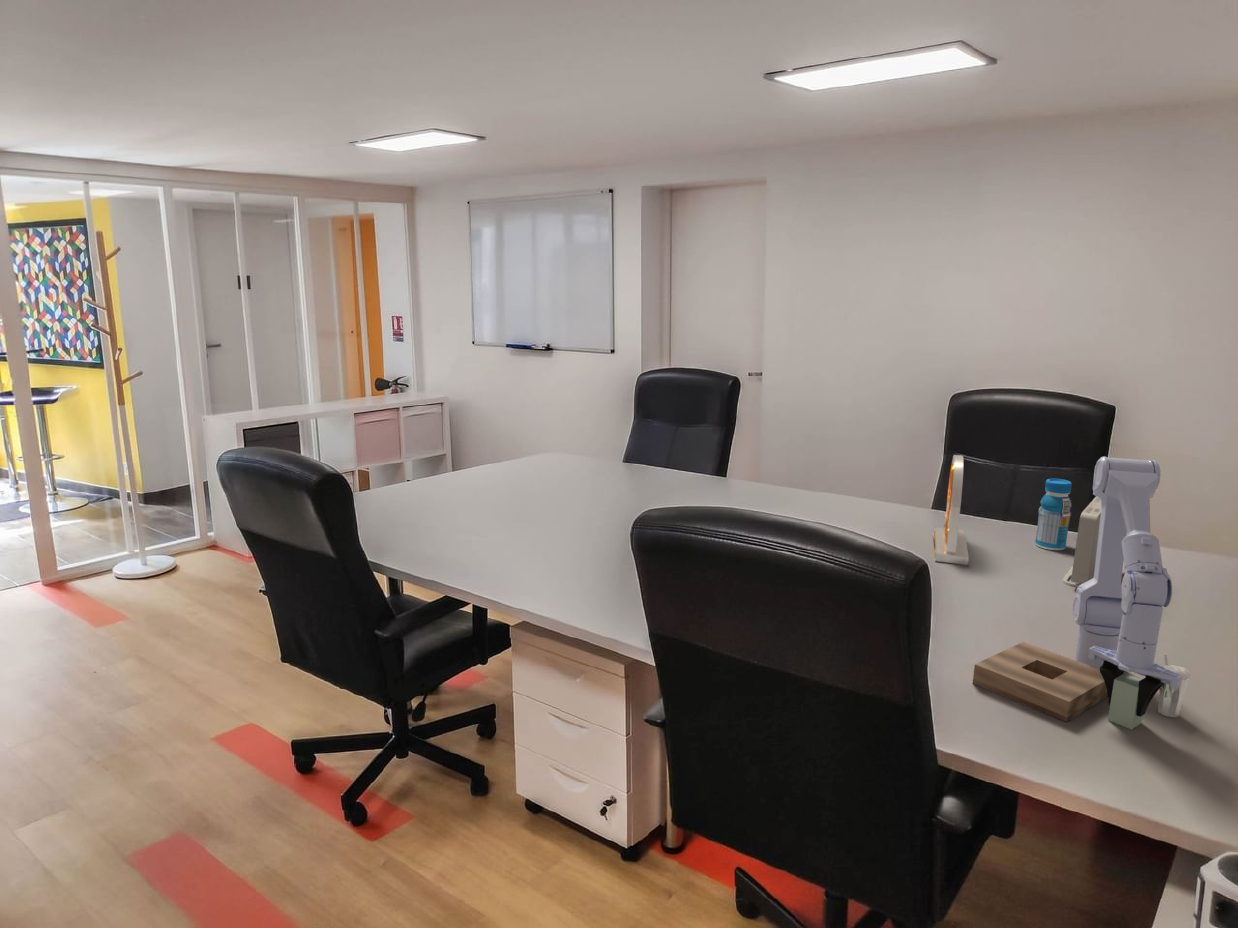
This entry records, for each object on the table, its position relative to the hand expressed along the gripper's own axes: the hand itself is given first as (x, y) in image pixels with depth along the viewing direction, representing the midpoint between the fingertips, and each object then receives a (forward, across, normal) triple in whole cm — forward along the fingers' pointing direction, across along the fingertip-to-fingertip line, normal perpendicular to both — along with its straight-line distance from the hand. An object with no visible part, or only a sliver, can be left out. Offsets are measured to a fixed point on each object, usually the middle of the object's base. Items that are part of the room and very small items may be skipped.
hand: (1126, 709), depth 152 cm
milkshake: (+3, +3, +10) cm, 11 cm away
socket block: (+2, -15, 0) cm, 15 cm away
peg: (+2, 0, 0) cm, 2 cm away
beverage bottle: (+3, -59, +91) cm, 108 cm away
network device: (+3, -40, +72) cm, 82 cm away
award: (+3, -75, +64) cm, 99 cm away
